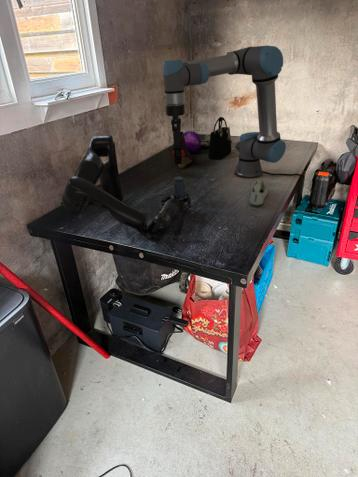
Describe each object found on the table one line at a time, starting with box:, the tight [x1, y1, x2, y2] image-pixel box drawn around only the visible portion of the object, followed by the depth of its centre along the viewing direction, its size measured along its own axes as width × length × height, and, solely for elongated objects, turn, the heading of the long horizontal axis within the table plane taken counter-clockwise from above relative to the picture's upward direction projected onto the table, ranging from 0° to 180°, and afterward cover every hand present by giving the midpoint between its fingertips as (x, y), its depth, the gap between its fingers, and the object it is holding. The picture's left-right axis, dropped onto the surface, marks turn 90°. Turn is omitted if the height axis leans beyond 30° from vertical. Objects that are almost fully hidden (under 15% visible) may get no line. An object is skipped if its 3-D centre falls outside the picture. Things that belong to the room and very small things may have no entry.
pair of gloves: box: [199, 134, 233, 149], centre depth 252 cm, size 30×26×5 cm
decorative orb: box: [183, 130, 202, 154], centre depth 230 cm, size 15×15×15 cm
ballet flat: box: [249, 179, 269, 207], centre depth 158 cm, size 8×24×8 cm, turn 163°
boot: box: [177, 131, 194, 169], centre depth 209 cm, size 9×24×20 cm, turn 168°
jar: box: [173, 176, 187, 213], centre depth 149 cm, size 5×5×15 cm
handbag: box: [207, 116, 232, 160], centre depth 218 cm, size 21×9×25 cm, turn 148°
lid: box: [171, 150, 185, 159], centre depth 140 cm, size 5×5×2 cm
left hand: (181, 195), depth 152 cm, fingers closed on jar, 4 cm apart
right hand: (178, 161), depth 142 cm, fingers closed on lid, 5 cm apart
